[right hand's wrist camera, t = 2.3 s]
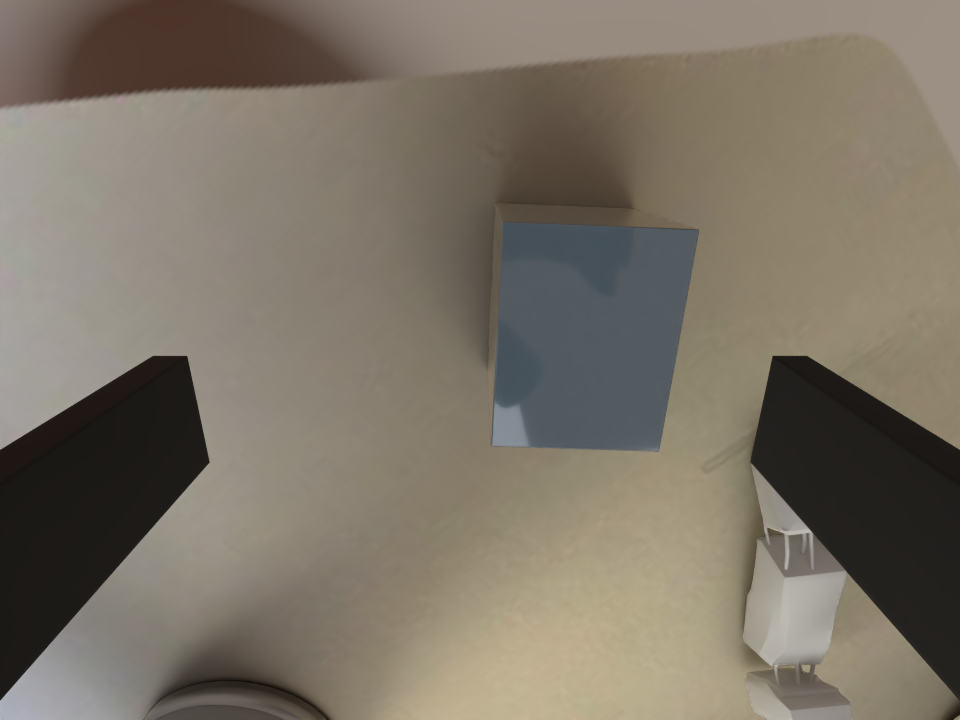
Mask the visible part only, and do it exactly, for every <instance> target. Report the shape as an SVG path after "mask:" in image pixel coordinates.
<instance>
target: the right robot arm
mask: <svg viewBox="0 0 960 720" xmlns="http://www.w3.org/2000/svg"><path fill="white" fill-rule="evenodd" d="M208 464H209V457H208V452H207V448H206V443H205V438H204V433H203V429H202V424H201V419H200V414H199V410H198V405H197V400H196V395H195V391H194V386H193V381H192V376H191V372H190V367H189V362H188V357H187V356H152V357H151V358H149V359H147V360H146V361H144V362H142V363H141V364H139V365H138V366H136V367H134V368H133V369H131V370H129V371H128V372H126V373H125V374H123V375H121V376H120V377H118V378H116V379H115V380H113V381H112V382H110V383H108V384H107V385H105V386H103V387H102V388H100V389H99V390H97V391H95V392H94V393H92V394H90V395H89V396H87V397H86V398H84V399H82V400H81V401H79V402H77V403H76V404H74V405H73V406H71V407H69V408H68V409H66V410H64V411H63V412H61V413H60V414H58V415H56V416H55V417H53V418H51V419H50V420H48V421H47V422H45V423H43V424H42V425H40V426H38V427H37V428H35V429H34V430H32V431H30V432H29V433H27V434H25V435H24V436H22V437H20V438H19V439H17V440H16V441H14V442H12V443H11V444H9V445H7V446H6V447H4V448H3V449H1V450H0V700H1V699H2V698H3V697H4V696H5V694H6V693H7V692H8V691H9V690H10V689H11V688H12V686H13V685H14V684H15V683H16V682H17V681H18V680H19V678H20V677H21V676H22V675H23V674H24V673H25V672H26V670H27V669H28V668H29V667H30V666H31V665H32V664H33V663H34V661H35V660H36V659H37V658H38V657H39V656H40V655H41V653H42V652H43V651H44V650H45V649H46V648H47V647H48V645H49V644H50V643H51V642H52V641H53V640H54V639H55V638H56V636H57V635H58V634H59V633H60V632H61V631H62V630H63V628H64V627H65V626H66V625H67V624H68V623H69V622H70V620H71V619H72V618H73V617H74V616H75V615H76V614H77V613H78V611H79V610H80V609H81V608H82V607H83V606H84V605H85V603H86V602H87V601H88V600H89V599H90V598H91V597H92V595H93V594H94V593H95V592H96V591H97V590H98V589H99V587H100V586H101V585H102V584H103V583H104V582H105V581H106V580H107V578H108V577H109V576H110V575H111V574H112V573H113V572H114V570H115V569H116V568H117V567H118V566H119V565H120V564H121V562H122V561H123V560H124V559H125V558H126V557H127V556H128V555H129V553H130V552H131V551H132V550H133V549H134V548H135V547H136V545H137V544H138V543H139V542H140V541H141V540H142V539H143V537H144V536H145V535H146V534H147V533H148V532H149V531H150V530H151V528H152V527H153V526H154V525H155V524H156V523H157V522H158V520H159V519H160V518H161V517H162V516H163V515H164V514H165V512H166V511H167V510H168V509H169V508H170V507H171V506H172V504H173V503H174V502H175V501H176V500H177V499H178V498H179V497H180V495H181V494H182V493H183V492H184V491H185V490H186V489H187V487H188V486H189V485H190V484H191V483H192V482H193V481H194V479H195V478H196V477H197V476H198V475H199V474H200V473H201V472H202V470H203V469H204V468H205V467H206V466H207V465H208ZM751 464H752V465H753V466H754V467H755V468H756V469H757V470H758V472H759V473H760V474H761V475H762V476H763V477H764V478H765V479H766V481H767V482H768V483H769V484H770V485H771V486H772V487H773V489H774V490H775V491H776V492H777V493H778V494H779V495H780V497H781V498H782V499H783V500H784V501H785V502H786V503H787V504H788V506H789V507H790V508H791V509H792V510H793V511H794V512H795V514H796V515H797V516H798V517H799V518H800V519H801V520H802V522H803V523H804V524H805V525H806V526H807V527H808V528H809V530H810V531H811V532H812V533H813V534H814V535H815V536H816V537H817V539H818V540H819V541H820V542H821V543H822V544H823V545H824V547H825V548H826V549H827V550H828V551H829V552H830V553H831V555H832V556H833V557H834V558H835V559H836V560H837V561H838V562H839V564H840V565H841V566H842V567H843V568H844V569H845V570H846V572H847V573H848V574H849V575H850V576H851V577H852V578H853V580H854V581H855V582H856V583H857V584H858V585H859V586H860V587H861V589H862V590H863V591H864V592H865V593H866V594H867V595H868V597H869V598H870V599H871V600H872V601H873V602H874V603H875V605H876V606H877V607H878V608H879V609H880V610H881V611H882V613H883V614H884V615H885V616H886V617H887V618H888V619H889V620H890V622H891V623H892V624H893V625H894V626H895V627H896V628H897V630H898V631H899V632H900V633H901V634H902V635H903V636H904V638H905V639H906V640H907V641H908V642H909V643H910V644H911V645H912V647H913V648H914V649H915V650H916V651H917V652H918V653H919V655H920V656H921V657H922V658H923V659H924V660H925V661H926V663H927V664H928V665H929V666H930V667H931V668H932V669H933V670H934V672H935V673H936V674H937V675H938V676H939V677H940V678H941V680H942V681H943V682H944V683H945V684H946V685H947V686H948V688H949V689H950V690H951V691H952V692H953V693H954V694H955V696H956V697H957V698H958V699H959V700H960V450H959V449H957V448H956V447H954V446H953V445H951V444H949V443H948V442H946V441H944V440H943V439H941V438H940V437H938V436H936V435H935V434H933V433H931V432H930V431H928V430H926V429H925V428H923V427H922V426H920V425H918V424H917V423H915V422H913V421H912V420H910V419H909V418H907V417H905V416H904V415H902V414H900V413H899V412H897V411H896V410H894V409H892V408H891V407H889V406H887V405H886V404H884V403H883V402H881V401H879V400H878V399H876V398H874V397H873V396H871V395H870V394H868V393H866V392H865V391H863V390H861V389H860V388H858V387H857V386H855V385H853V384H852V383H850V382H848V381H847V380H845V379H844V378H842V377H840V376H839V375H837V374H835V373H834V372H832V371H831V370H829V369H827V368H826V367H824V366H822V365H821V364H819V363H818V362H816V361H814V360H813V359H811V358H809V357H808V356H773V357H772V362H771V367H770V372H769V376H768V381H767V386H766V391H765V395H764V400H763V405H762V410H761V414H760V419H759V424H758V429H757V433H756V438H755V443H754V448H753V452H752V457H751ZM144 720H327V719H326V718H325V717H324V716H323V715H322V714H320V713H319V712H318V711H317V710H316V709H314V708H313V707H312V706H310V705H309V704H307V703H306V702H304V701H302V700H301V699H299V698H297V697H295V696H293V695H291V694H288V693H286V692H283V691H281V690H278V689H275V688H272V687H268V686H264V685H260V684H255V683H248V682H239V681H215V682H206V683H200V684H196V685H192V686H188V687H185V688H183V689H180V690H178V691H175V692H173V693H171V694H170V695H168V696H166V697H165V698H163V699H162V700H161V701H159V702H158V703H157V704H156V705H155V706H154V707H153V708H152V709H151V710H150V711H149V713H148V714H147V716H146V717H145V719H144Z"/></svg>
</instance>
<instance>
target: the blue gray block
mask: <svg viewBox="0 0 960 720" xmlns="http://www.w3.org/2000/svg"><path fill="white" fill-rule="evenodd" d="M698 234H699V230H698V229H696V228H693V227H689V226H686V225H683V224H680V223H677V222H674V221H671V220H668V219H665V218H662V217H658V216H655V215H652V214H649V213H646V212H643V211H640V210H637V209H632V208H608V207H584V206H559V205H535V204H511V203H496V204H495V221H494V241H493V262H492V283H491V303H490V324H489V345H488V366H487V375H488V396H489V416H490V437H491V446H499V447H530V448H561V449H592V450H623V451H653V452H658V451H659V449H660V443H661V438H662V432H663V427H664V421H665V416H666V410H667V405H668V399H669V394H670V388H671V383H672V377H673V372H674V366H675V361H676V355H677V350H678V344H679V339H680V333H681V328H682V322H683V317H684V311H685V306H686V300H687V295H688V289H689V284H690V278H691V272H692V267H693V261H694V256H695V250H696V245H697V239H698Z"/></svg>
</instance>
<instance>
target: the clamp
mask: <svg viewBox="0 0 960 720" xmlns="http://www.w3.org/2000/svg"><path fill="white" fill-rule="evenodd" d="M751 467H752V471H753V476H754V481H755V485H756V490H757V495H758V499H759V504H760V509H761V513H762V518H763V523H764V531H765V535H766V536H762V537H759V538H757V552H756V560H755V567H754V575H753V581H752V586H751V590H750V591H749V593H748V594H747V603H746V614H745V625H744V633H743V641H744V642H745V643H746V644H747V645H748V646H749V647H751V648H752V649H753V650H754V651H755V652H756V653H757V654H758V655H759V656H760V657H761V658H762V659H763V660H764V661H765V662H766V663H768V664H769V665H770V666H774V670H766V671H757V672H748V673H746V678H745V682H746V686H747V690H748V694H749V698H750V703H751V707H752V709H753V710H754V711H755V713H757V714H759V715H760V716H762V717H764V718H766V719H767V720H852V714H851V707H850V701H849V700H848V699H846V698H845V697H844V696H843V695H841V694H840V693H839V691H838V688H836V687H834V686H831V685H829V684H827V683H825V682H823V681H821V680H820V679H819V677H818V676H817V675H815V674H814V670H815V664H820V663H821V662H822V660H823V658H824V656H825V654H826V652H827V650H828V648H829V647H830V641H831V636H832V630H833V625H834V619H835V614H836V610H837V607H838V603H839V600H840V597H841V594H842V590H843V587H844V584H845V580H846V577H847V572H846V570H845V569H844V568H843V567H842V566H841V565H840V564H839V562H838V561H837V560H836V559H835V558H834V557H833V556H832V555H831V553H830V552H829V551H828V550H827V549H826V548H825V547H824V545H823V544H822V543H821V542H820V541H819V540H818V539H817V537H816V536H815V535H814V534H813V533H812V532H811V531H810V530H809V528H808V527H807V526H806V525H805V524H804V523H803V522H802V520H801V519H800V518H799V517H798V516H797V515H796V514H795V512H794V511H793V510H792V509H791V508H790V507H789V506H788V504H787V503H786V502H785V501H784V500H783V499H782V498H781V497H780V495H779V494H778V493H777V492H776V491H775V490H774V489H773V487H772V486H771V485H770V484H769V483H768V482H767V481H766V479H765V478H764V477H763V476H762V475H761V474H760V473H759V472H758V470H757V469H756V468H755V467H754V466H753V465H752V464H751ZM768 528H770V529H773V530H776V531H778V532H781V533H784V534H779V535H770V536H769V533H768ZM810 664H811V668H810V673H808V672H804V671H803V670H802V667H801V665H810ZM779 665H795V669H794V668H783V669H778V666H779Z"/></svg>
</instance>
